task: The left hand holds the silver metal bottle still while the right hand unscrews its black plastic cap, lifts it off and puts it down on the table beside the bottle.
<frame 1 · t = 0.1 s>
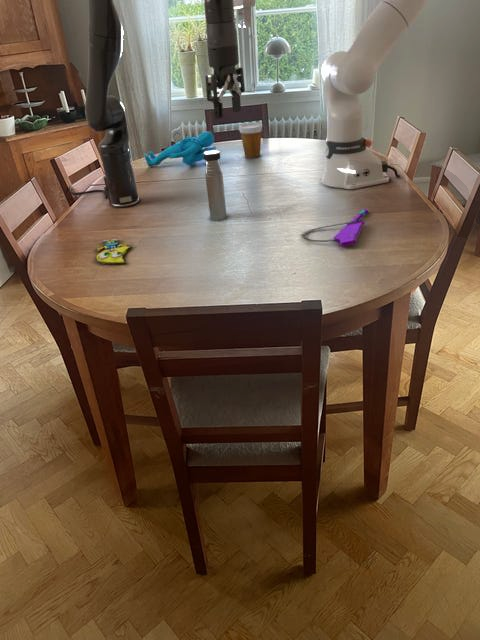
left hand: (228, 114, 126), 29 cm above the table, tool pointing down, fingers open, 8 cm apart
right hand: (244, 27, 136), 48 cm above the table, tool pointing down, fingers open, 8 cm apart
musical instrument: (337, 230, 130), on the table
cap: (211, 153, 135), point 19 cm above the table, screwed on, not yet turned
toy: (182, 164, 199), on the table
toy 2: (112, 253, 129), on the table
bottle: (218, 217, 145), on the table
beer glass: (252, 156, 202), on the table
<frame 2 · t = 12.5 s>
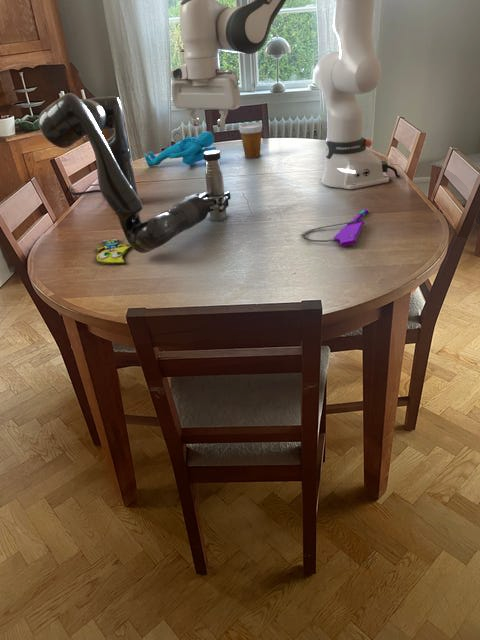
left hand: (221, 194, 144), 6 cm above the table, tool horizontal, fingers closed on bottle, 5 cm apart
right hand: (208, 126, 131), 26 cm above the table, tool pointing down, fingers open, 7 cm apart
bottle: (218, 217, 145), on the table, touching left hand
everything else where it was.
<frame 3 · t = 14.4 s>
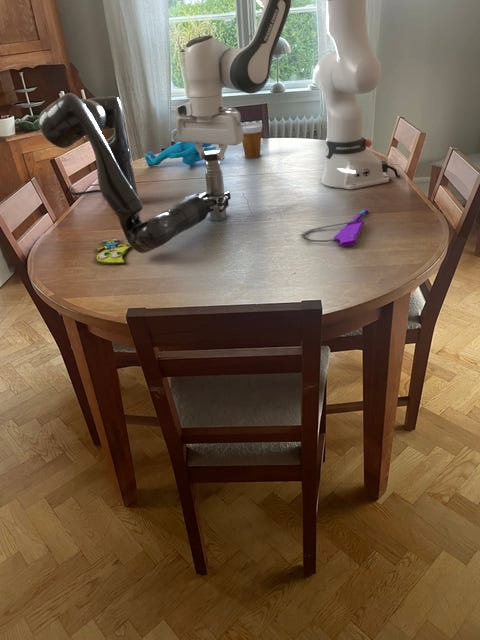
left hand: (221, 194, 144), 6 cm above the table, tool horizontal, fingers closed on bottle, 5 cm apart
right hand: (212, 159, 136), 17 cm above the table, tool pointing down, fingers closed on cap, 4 cm apart
cap: (211, 153, 135), point 19 cm above the table, screwed on, not yet turned, touching right hand
bottle: (218, 217, 145), on the table, touching left hand
everything else where it was.
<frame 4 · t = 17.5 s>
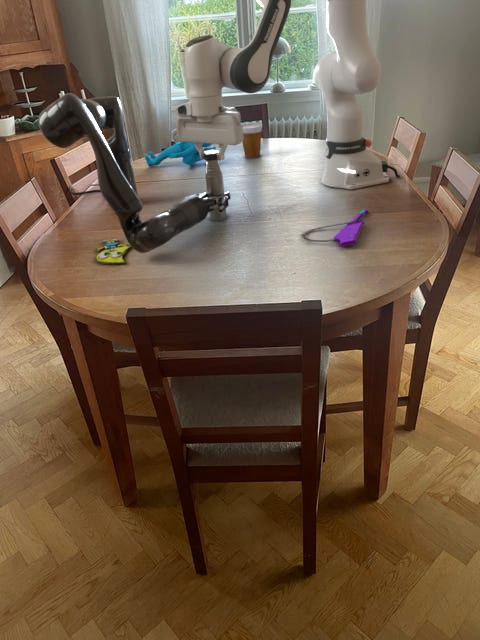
left hand: (221, 194, 144), 6 cm above the table, tool horizontal, fingers closed on bottle, 5 cm apart
right hand: (212, 159, 136), 17 cm above the table, tool pointing down, fingers closed on cap, 4 cm apart
cap: (211, 153, 135), point 19 cm above the table, turned 86° so far, risen 0.1 cm, still on its thread, touching right hand
bottle: (218, 217, 145), on the table, touching left hand
everything else where it was.
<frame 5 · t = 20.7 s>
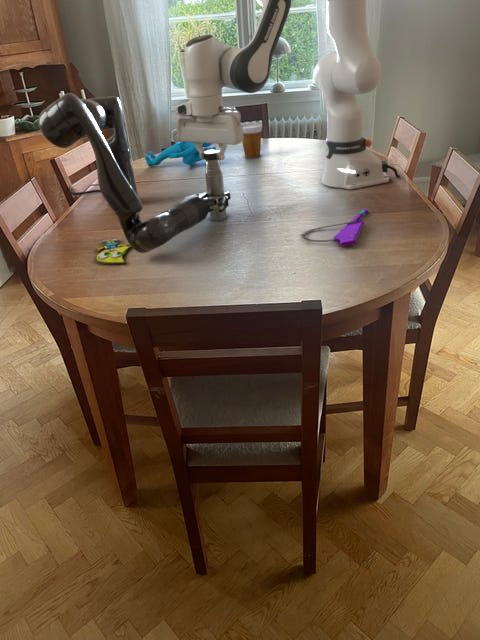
left hand: (221, 194, 144), 6 cm above the table, tool horizontal, fingers closed on bottle, 5 cm apart
right hand: (212, 158, 136), 17 cm above the table, tool pointing down, fingers closed on cap, 4 cm apart
cap: (211, 152, 135), point 19 cm above the table, turned 172° so far, risen 0.2 cm, still on its thread, touching right hand
bottle: (218, 217, 145), on the table, touching left hand
everything else where it was.
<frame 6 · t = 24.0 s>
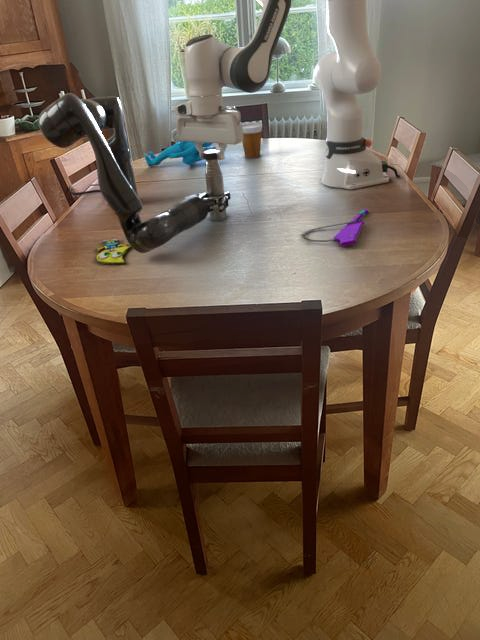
left hand: (221, 194, 144), 6 cm above the table, tool horizontal, fingers closed on bottle, 5 cm apart
right hand: (212, 158, 136), 18 cm above the table, tool pointing down, fingers closed on cap, 4 cm apart
cap: (211, 152, 135), point 19 cm above the table, turned 259° so far, risen 0.2 cm, still on its thread, touching right hand
bottle: (218, 217, 145), on the table, touching left hand
everything else where it was.
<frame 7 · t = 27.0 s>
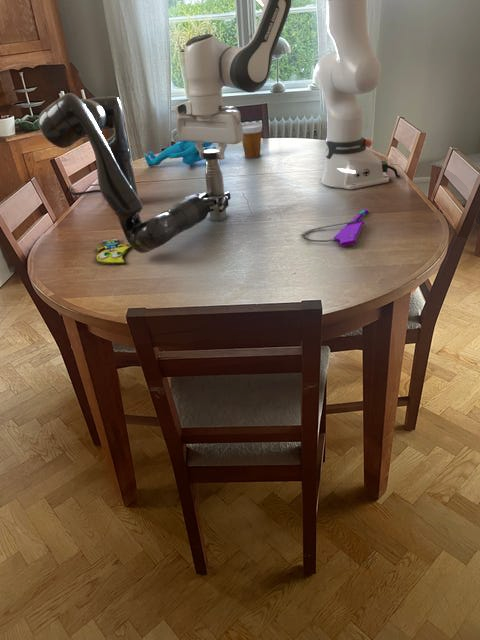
left hand: (221, 194, 144), 6 cm above the table, tool horizontal, fingers closed on bottle, 5 cm apart
right hand: (212, 158, 136), 18 cm above the table, tool pointing down, fingers closed on cap, 4 cm apart
cap: (211, 152, 135), point 19 cm above the table, turned 345° so far, risen 0.3 cm, still on its thread, touching right hand
bottle: (218, 217, 145), on the table, touching left hand
everything else where it was.
when the right hand's fingers open (2 cm above the table, at t = 37.5 s): cap drops 2 cm, point 2 cm above the table.
when the left hand's fingers open (6 cm above the table, at t = 38.6 s): bottle stays where it is, on the table.
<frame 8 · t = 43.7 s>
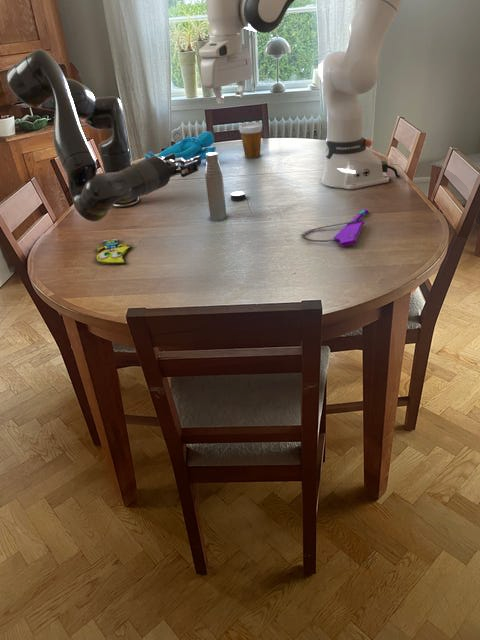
left hand: (186, 158, 126), 20 cm above the table, tool horizontal, fingers open, 8 cm apart
right hand: (230, 100, 142), 30 cm above the table, tool pointing down, fingers open, 8 cm apart
cap: (238, 194, 157), point 2 cm above the table, off its thread
bottle: (218, 217, 145), on the table
everything else where it was.
at the end: cap came off its thread; cap point 1.5 cm above the table; the left hand is holding nothing; the right hand is holding nothing; bottle tilted 0°; bottle moved 0.0 cm from its start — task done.
